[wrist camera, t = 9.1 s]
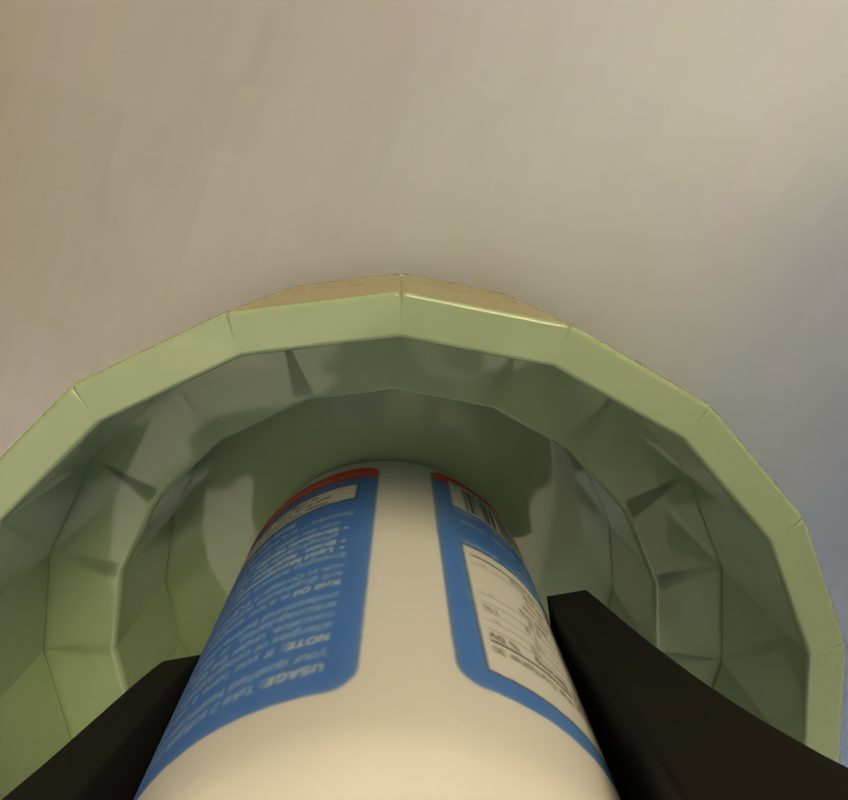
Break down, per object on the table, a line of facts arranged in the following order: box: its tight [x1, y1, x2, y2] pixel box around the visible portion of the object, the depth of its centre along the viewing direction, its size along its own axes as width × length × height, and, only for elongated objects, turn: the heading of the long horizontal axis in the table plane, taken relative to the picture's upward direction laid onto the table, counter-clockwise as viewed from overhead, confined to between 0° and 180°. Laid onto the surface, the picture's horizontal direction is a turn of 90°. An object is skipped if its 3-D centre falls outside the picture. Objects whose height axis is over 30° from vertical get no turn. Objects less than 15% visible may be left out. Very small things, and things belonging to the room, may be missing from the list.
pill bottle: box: [133, 461, 621, 800], centre depth 8 cm, size 6×5×10 cm
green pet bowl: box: [0, 274, 845, 800], centre depth 11 cm, size 12×12×5 cm
